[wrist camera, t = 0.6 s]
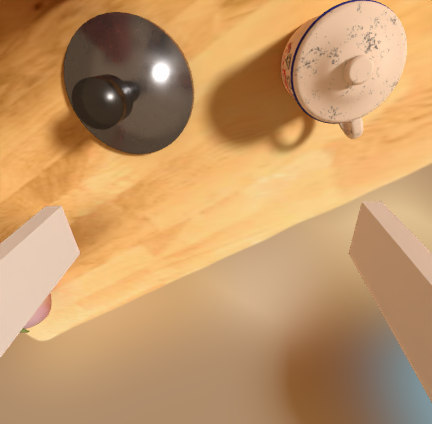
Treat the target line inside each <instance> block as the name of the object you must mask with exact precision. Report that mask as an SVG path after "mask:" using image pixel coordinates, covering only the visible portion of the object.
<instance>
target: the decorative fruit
mask: <svg viewBox="0 0 432 424" xmlns="http://www.w3.org/2000/svg"><path fill="white" fill-rule="evenodd" d="M50 310H51V294H50V293H49V295H48V296H47V297H46V299H45V300H44V301H43V303H42V304H41V305H40V306H39V308H38V309H37V310H36V312H35V313H34V314H33V316H32V317H31V318H30V320H29V321H28V322H27V323H26V325H25V326H24V327H23V329H22V330H21V331H20V333H27V332H29V331H27V330H25V329H26V328H30V327H33V326H35V325H37V324H38V323H40V322H41V321H43V320H44V319H45V318H46V317H47V315H48V314H49V312H50Z"/></svg>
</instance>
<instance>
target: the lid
mask: <svg viewBox="0 0 432 424" xmlns="http://www.w3.org/2000/svg"><path fill="white" fill-rule="evenodd" d="M64 80H65V86H66V91H67V94H68V97H69V100H70V103H71V105H72V107H73V109H74V111H75V113H76V114H77V116H78V118H79V119H80V120H81V122H82V123H83V125H84V126H85V127H86V128H87V129H88V130H89V131H90V132H91V133H92V134H93V135H94V136H95V137H96V138H98V139H99V140H100V141H102V142H103V143H105V144H107V145H108V146H110V147H112V148H115V149H117V150H120V151H123V152H127V153H133V154H146V153H152V152H155V151H158V150H161V149H163V148H165V147H167V146H168V145H169V144H171V143H172V142H173V141H174V140H175V139H176V138H177V137H178V136H179V135H180V134H181V132H182V131H183V130H184V128H185V126H186V125H187V123H188V120H189V118H190V116H191V112H192V108H193V102H194V86H193V79H192V74H191V71H190V68H189V65H188V62H187V60H186V58H185V56H184V54H183V52H182V51H181V49H180V48H179V46H178V45H177V44H176V42H175V41H174V40H173V39H172V37H171V36H170V35H168V34H167V33H166V32H165V31H164V30H163V29H162V28H160V27H159V26H158V25H156V24H155V23H153V22H151V21H149V20H147V19H145V18H142V17H140V16H137V15H133V14H129V13H121V12H112V13H105V14H101V15H98V16H96V17H94V18H92V19H90V20H88V21H87V22H86V23H84V24H83V25H82V26H81V27H80V28H79V29H78V30H77V31H76V33H75V34H74V36H73V37H72V39H71V41H70V43H69V45H68V48H67V51H66V55H65V61H64Z"/></svg>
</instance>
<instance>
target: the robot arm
mask: <svg viewBox="0 0 432 424" xmlns="http://www.w3.org/2000/svg"><path fill="white" fill-rule="evenodd" d="M79 254H80V251H79V249H78V246H77V244H76V241H75V239H74V236H73V234H72V231H71V229H70V226H69V224H68V221H67V218H66V216H65V213H64V211H63V208H62V206H45V207H44V208H43V209H42V210H40V211H39V212H38V213H37V214H36V215H34V216H33V217H32V218H31V219H29V220H28V221H27V222H26V223H25V224H23V225H22V226H21V227H20V228H18V229H17V230H16V231H15V232H14V233H12V234H11V235H10V236H9V237H7V238H6V239H5V240H4V241H3V242H1V243H0V357H1V356H2V355H3V353H4V352H5V351H6V349H7V348H8V347H9V346H10V344H11V343H12V342H13V340H14V339H15V338H16V336H17V335H18V334H19V333H20V331H21V330H22V329H23V327H24V326H25V325H26V323H27V322H28V321H29V320H30V318H31V317H32V316H33V314H34V313H35V312H36V310H37V309H38V308H39V306H40V305H41V304H42V303H43V301H44V300H45V299H46V297H47V296H48V295H49V293H50V292H51V291H52V290H53V288H54V287H55V286H56V284H57V283H58V282H59V280H60V279H61V278H62V277H63V275H64V274H65V273H66V271H67V270H68V269H69V267H70V266H71V265H72V263H73V262H74V261H75V260H76V258H77V257H78V256H79ZM349 255H350V256H351V258H352V260H353V262H354V263H355V265H356V267H357V269H358V271H359V273H360V274H361V276H362V278H363V280H364V281H365V283H366V285H367V287H368V289H369V291H370V292H371V294H372V296H373V298H374V300H375V301H376V303H377V305H378V307H379V309H380V310H381V312H382V314H383V316H384V318H385V319H386V321H387V323H388V325H389V327H390V328H391V330H392V332H393V334H394V335H395V337H396V339H397V341H398V343H399V345H400V346H401V348H402V350H403V352H404V353H405V355H406V357H407V359H408V361H409V363H410V364H411V366H412V368H413V370H414V371H415V373H416V375H417V377H418V379H419V380H420V382H421V384H422V386H423V388H424V389H425V391H426V393H427V395H428V397H429V398H430V400H431V402H432V253H431V252H430V251H429V250H428V249H427V248H426V247H425V246H424V245H423V244H422V243H421V242H420V241H419V240H418V239H417V238H416V237H415V236H414V235H413V234H412V233H411V232H410V231H409V230H408V229H407V228H406V226H405V225H404V224H402V222H401V221H400V220H399V219H398V218H397V217H396V216H395V215H394V214H393V213H392V212H391V211H390V210H389V209H388V208H387V207H386V206H385V205H384V204H383V203H382V202H381V201H370V202H369V201H366V202H362V203H361V207H360V211H359V215H358V219H357V223H356V227H355V231H354V235H353V239H352V243H351V247H350V250H349Z"/></svg>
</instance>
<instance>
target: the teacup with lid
mask: <svg viewBox="0 0 432 424" xmlns="http://www.w3.org/2000/svg"><path fill="white" fill-rule="evenodd" d="M406 54H407V41H406V35H405V31H404V28H403V26H402V24H401V22H400V20H399V19H398V17H397V16H396V15H395V14H394V12H393V11H392V10H390V9H389V8H388V7H386V6H385V5H383V4H381V3H379V2H376V1H372V0H351V1H347V2H344V3H341V4H338V5H336V6H334V7H332V8H330V9H329V10H327V11H326V12H324V13H323V14H322V15H320V16H318V17H315V18H313V19H311V20H309V21H307V22H306V23H304V24H303V25H302V26H300V27H299V28H298V29H297V30H296V31H295V33H294V34H293V35H292V36H291V38H290V39H289V41H288V43H287V45H286V47H285V49H284V52H283V56H282V60H281V77H282V81H283V84H284V86H285V88H286V90H287V92H288V93H289V94H290V95H291V96H292V97H293V98H294V99H295V100H296V101H297V103H298V105H299V106H300V107H301V109H302V110H303V111H304V112H305V113H306V114H307V115H309V116H310V117H312V118H314V119H316V120H318V121H321V122H324V123H332V124H339V125H340V127H341V129H342V130H343V132H344V133H345V135H346V136H347V137H349V138H350V139H355V138H357V137H359V136H361V135H362V133H363V122H362V117H363V116H365V115H367V114H368V113H370V112H371V111H373V110H374V109H376V108H377V107H378V106H379V105H380V104H381V103H382V102H383V101H384V100H385V99H386V98H387V97H388V96H389V95H390V93H391V92H392V91H393V89H394V88H395V86H396V84H397V82H398V81H399V79H400V76H401V74H402V71H403V69H404V65H405V61H406Z"/></svg>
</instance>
